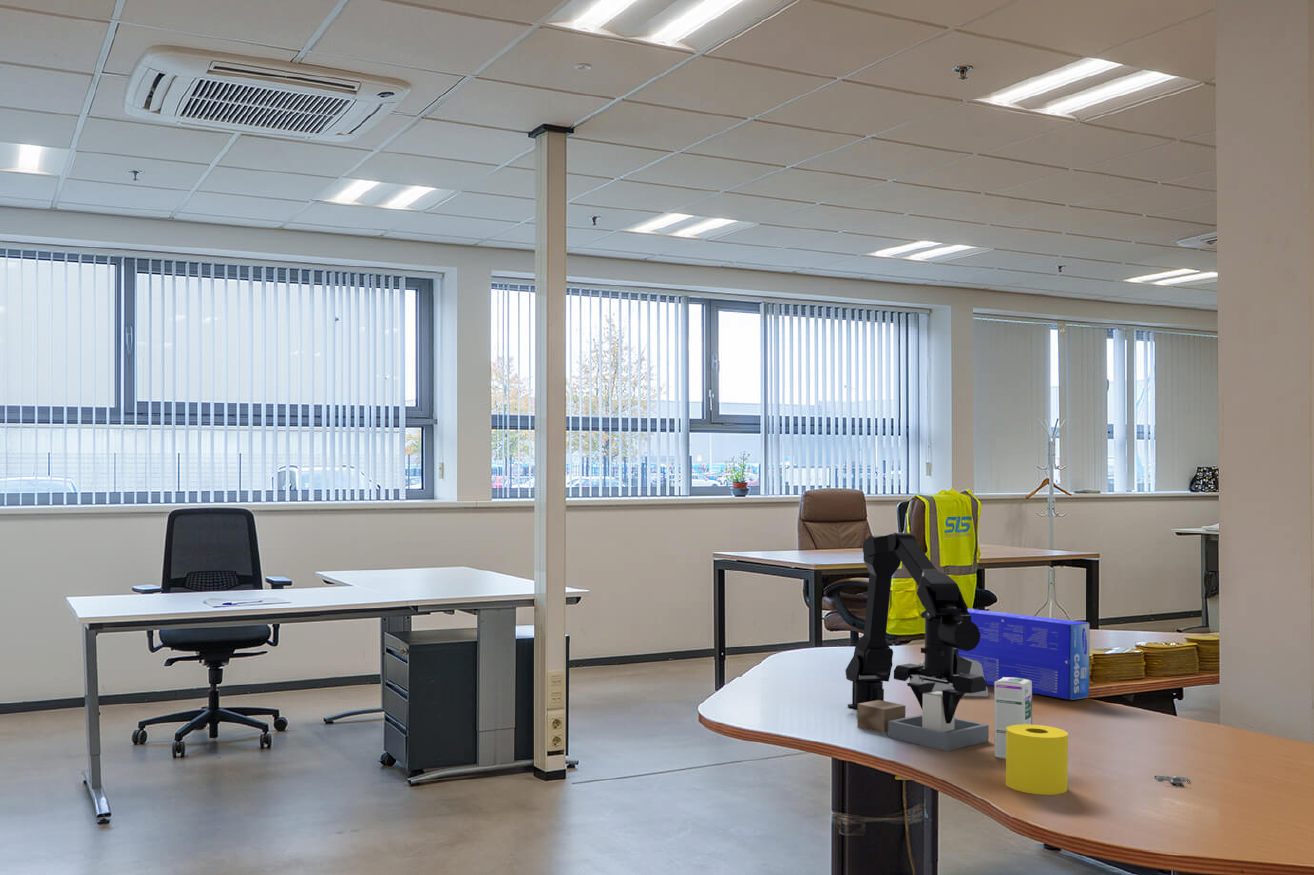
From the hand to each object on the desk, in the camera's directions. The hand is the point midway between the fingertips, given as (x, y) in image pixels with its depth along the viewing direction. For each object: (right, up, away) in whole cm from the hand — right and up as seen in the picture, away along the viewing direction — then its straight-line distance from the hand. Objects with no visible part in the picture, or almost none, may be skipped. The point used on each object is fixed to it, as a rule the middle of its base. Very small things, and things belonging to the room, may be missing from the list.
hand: (938, 721), depth 226 cm
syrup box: (+11, -4, -13) cm, 17 cm away
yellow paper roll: (+8, -3, -34) cm, 35 cm away
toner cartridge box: (+33, -7, +59) cm, 68 cm away
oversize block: (-10, -4, +9) cm, 14 cm away
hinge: (+16, -6, +50) cm, 53 cm away
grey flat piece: (+32, -4, -26) cm, 42 cm away
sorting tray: (0, -4, 0) cm, 4 cm away
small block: (0, -2, 0) cm, 2 cm away
